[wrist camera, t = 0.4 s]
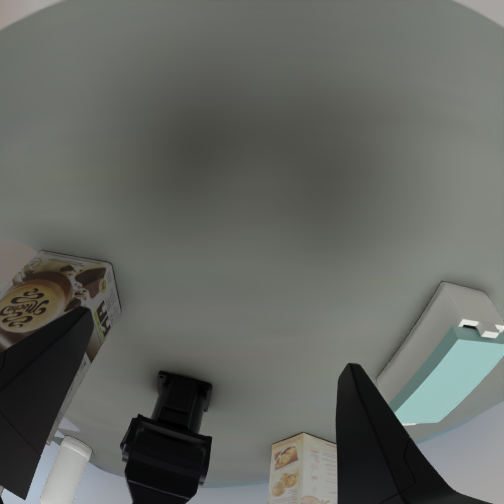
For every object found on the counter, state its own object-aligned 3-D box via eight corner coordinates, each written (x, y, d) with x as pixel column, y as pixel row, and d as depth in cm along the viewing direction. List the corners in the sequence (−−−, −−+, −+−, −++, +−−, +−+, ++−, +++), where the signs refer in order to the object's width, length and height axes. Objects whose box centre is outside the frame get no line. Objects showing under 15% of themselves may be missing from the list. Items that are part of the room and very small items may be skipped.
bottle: (96, 454, 60) (65, 546, 35) (72, 444, 60) (39, 532, 35) (85, 441, 56) (49, 542, 30) (60, 431, 56) (22, 526, 31)
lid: (435, 411, 27) (438, 422, 26) (381, 411, 27) (383, 423, 25) (505, 333, 20) (511, 345, 19) (451, 325, 20) (458, 339, 19)
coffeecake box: (270, 444, 42) (259, 557, 25) (303, 430, 39) (298, 557, 22) (331, 463, 46) (331, 557, 29) (363, 451, 43) (368, 552, 26)
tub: (417, 381, 32) (428, 424, 26) (376, 378, 31) (384, 425, 26) (484, 291, 24) (512, 334, 19) (442, 280, 24) (469, 328, 19)
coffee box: (111, 259, 26) (12, 406, 12) (122, 313, 30) (53, 449, 16) (39, 247, 27) (-60, 358, 13) (54, 297, 30) (-22, 406, 16)
